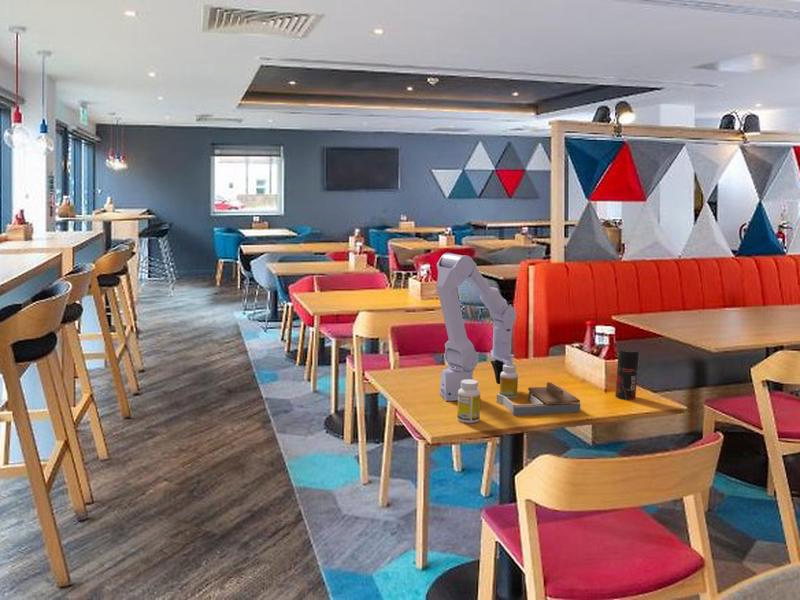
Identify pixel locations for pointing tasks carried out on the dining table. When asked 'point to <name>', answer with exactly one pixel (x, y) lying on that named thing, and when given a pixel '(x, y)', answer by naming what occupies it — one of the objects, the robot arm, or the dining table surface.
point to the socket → (537, 406)
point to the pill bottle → (469, 401)
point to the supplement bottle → (509, 381)
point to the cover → (553, 394)
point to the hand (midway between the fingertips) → (500, 383)
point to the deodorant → (627, 373)
